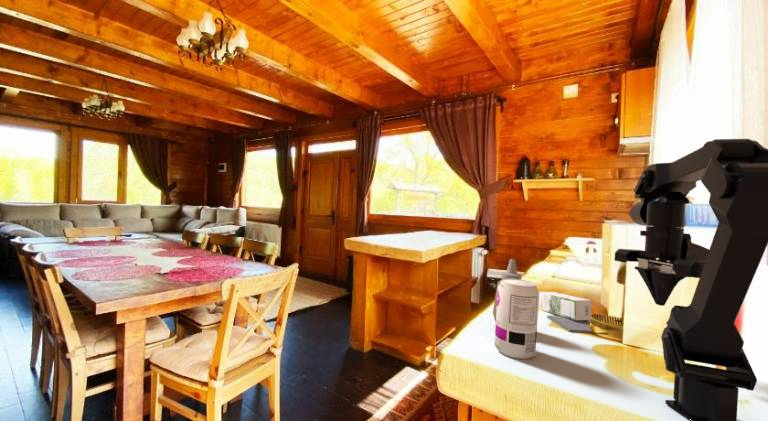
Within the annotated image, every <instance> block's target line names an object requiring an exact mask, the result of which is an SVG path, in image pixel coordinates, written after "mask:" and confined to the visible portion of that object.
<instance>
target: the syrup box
mask: <svg viewBox="0 0 768 421" xmlns="http://www.w3.org/2000/svg"><path fill="white" fill-rule="evenodd" d="M540 309H541V310H540ZM538 310H540V311H543V310H544V311H543V312H547V313H550V314H553V315H555V316H563V317H566V318H569V319H573V320H587V321H591V320H590V318H592V300H591V299H588V298H582V297H577V296H572V295H569V294H566V293H565V294H564V293H560V292H555V291H539V303H538Z"/></svg>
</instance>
